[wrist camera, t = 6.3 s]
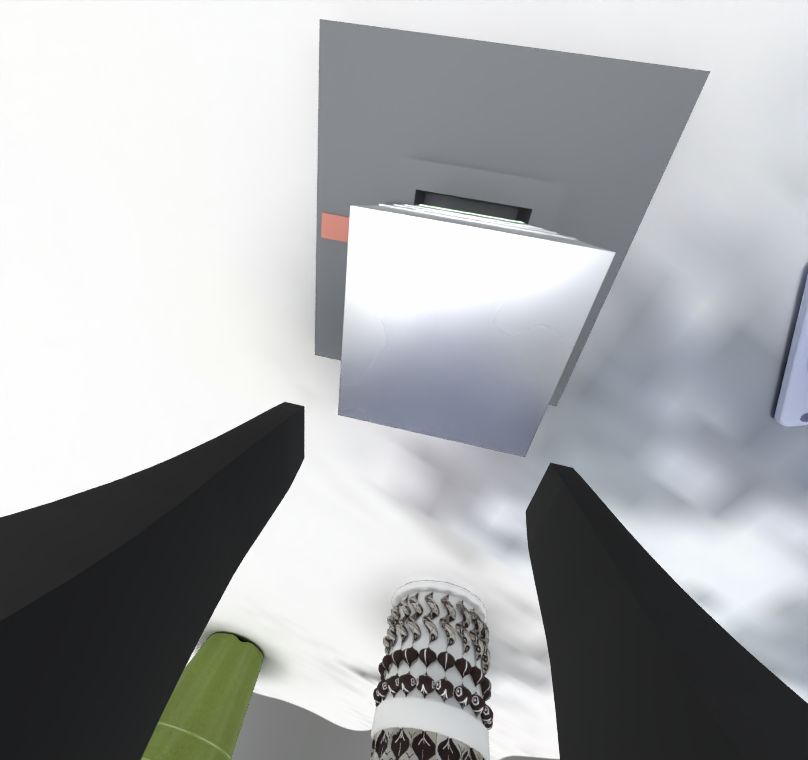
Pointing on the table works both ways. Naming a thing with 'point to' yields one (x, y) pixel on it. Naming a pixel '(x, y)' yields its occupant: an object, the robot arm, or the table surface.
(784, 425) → the robot arm
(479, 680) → the decorative candle
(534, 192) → the grey socket base
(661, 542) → the table surface
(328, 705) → the table surface
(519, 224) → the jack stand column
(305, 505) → the table surface
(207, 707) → the plant pot
